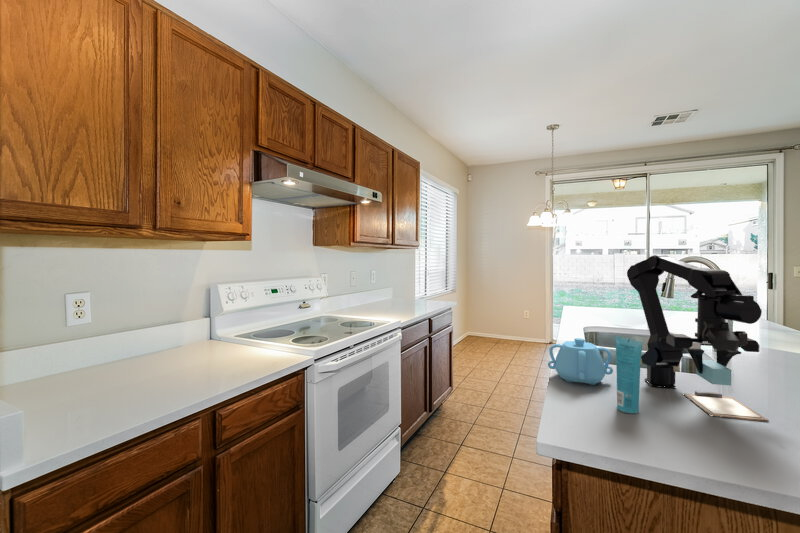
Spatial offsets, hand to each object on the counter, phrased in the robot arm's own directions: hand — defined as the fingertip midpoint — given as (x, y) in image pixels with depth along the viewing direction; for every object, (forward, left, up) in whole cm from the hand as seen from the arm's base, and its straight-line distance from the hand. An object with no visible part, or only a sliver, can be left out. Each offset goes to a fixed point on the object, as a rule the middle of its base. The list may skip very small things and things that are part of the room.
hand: (709, 373), depth 99 cm
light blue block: (0, -1, -1) cm, 1 cm away
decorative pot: (-29, +15, -9) cm, 34 cm away
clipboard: (+3, 0, -9) cm, 9 cm away
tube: (-22, -8, -9) cm, 25 cm away
